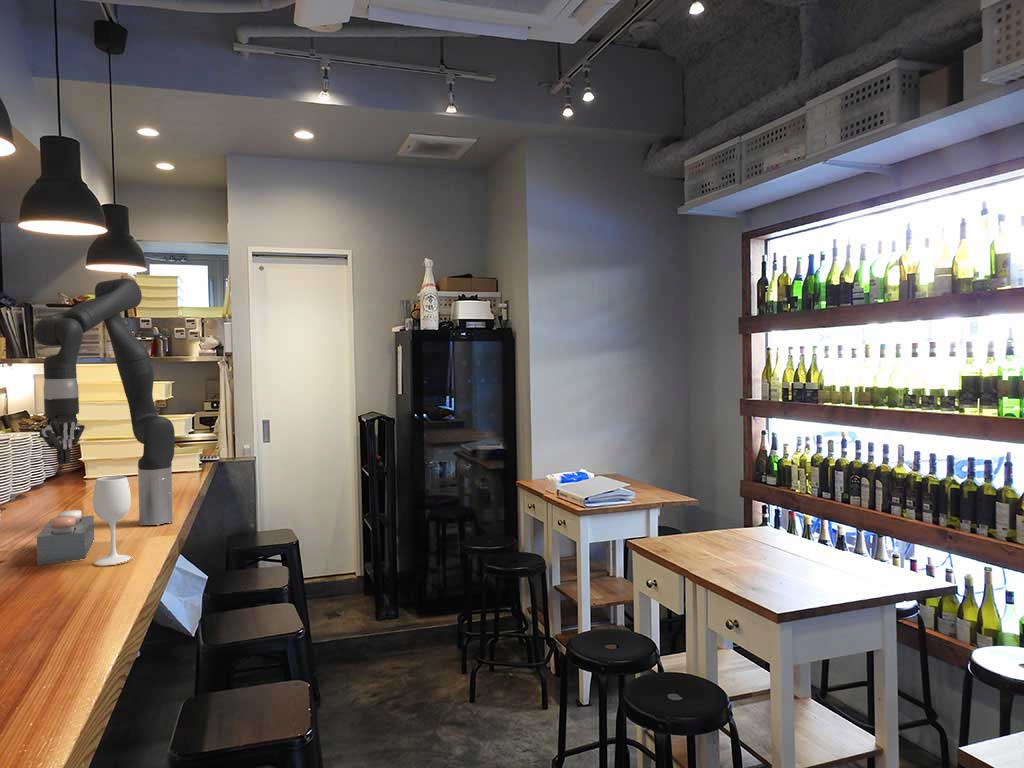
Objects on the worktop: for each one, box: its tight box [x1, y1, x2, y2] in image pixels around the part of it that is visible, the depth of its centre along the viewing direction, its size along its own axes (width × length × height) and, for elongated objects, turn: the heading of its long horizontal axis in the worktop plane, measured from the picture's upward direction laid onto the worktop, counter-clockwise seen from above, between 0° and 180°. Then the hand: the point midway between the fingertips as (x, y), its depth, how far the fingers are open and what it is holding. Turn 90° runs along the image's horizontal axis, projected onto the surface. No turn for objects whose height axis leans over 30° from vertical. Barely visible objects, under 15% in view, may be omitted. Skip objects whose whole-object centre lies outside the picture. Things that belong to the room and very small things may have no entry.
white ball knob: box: [58, 509, 83, 522], centre depth 189 cm, size 5×5×7 cm
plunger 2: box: [50, 516, 76, 534], centre depth 178 cm, size 5×5×7 cm
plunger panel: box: [36, 515, 95, 566], centre depth 184 cm, size 10×22×7 cm, turn 26°
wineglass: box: [92, 475, 132, 565], centre depth 175 cm, size 9×9×21 cm
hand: (64, 463), depth 180 cm, fingers closed
